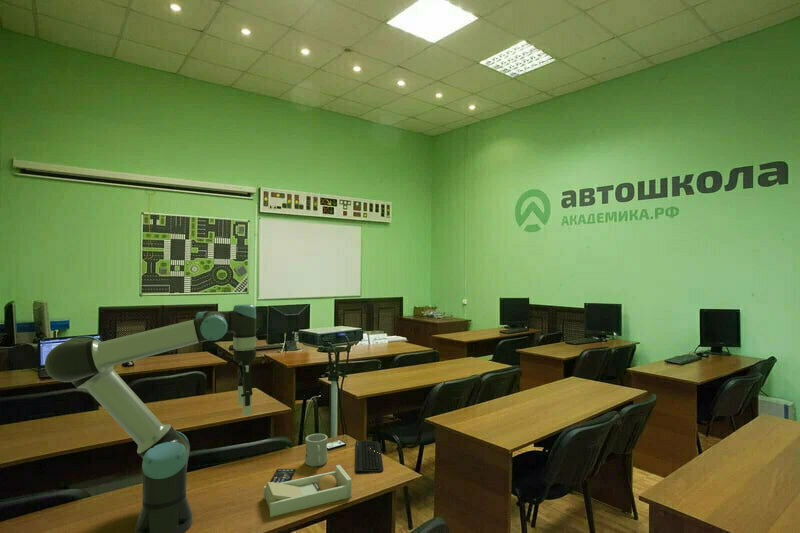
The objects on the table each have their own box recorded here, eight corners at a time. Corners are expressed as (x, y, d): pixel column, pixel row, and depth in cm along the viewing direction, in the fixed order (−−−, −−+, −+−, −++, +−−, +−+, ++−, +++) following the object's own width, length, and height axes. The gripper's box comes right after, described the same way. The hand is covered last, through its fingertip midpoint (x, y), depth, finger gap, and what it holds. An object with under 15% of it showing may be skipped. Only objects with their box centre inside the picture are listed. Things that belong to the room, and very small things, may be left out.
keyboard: (383, 474, 166) (383, 468, 166) (355, 475, 165) (355, 469, 165) (380, 443, 195) (380, 439, 195) (355, 444, 194) (355, 439, 194)
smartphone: (296, 468, 169) (287, 487, 154) (296, 470, 169) (287, 489, 154) (277, 468, 168) (266, 487, 154) (277, 470, 168) (266, 489, 153)
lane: (270, 516, 136) (270, 497, 136) (263, 498, 147) (263, 480, 147) (351, 496, 148) (351, 479, 148) (339, 481, 159) (339, 464, 159)
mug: (304, 459, 178) (304, 434, 178) (326, 456, 180) (326, 432, 181) (306, 472, 166) (306, 446, 166) (330, 469, 169) (330, 443, 169)
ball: (321, 498, 146) (322, 480, 147) (316, 490, 152) (317, 473, 152) (338, 495, 149) (339, 477, 149) (333, 487, 154) (333, 470, 155)
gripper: (261, 353, 142) (261, 418, 142) (250, 342, 165) (250, 398, 164) (237, 355, 139) (236, 421, 139) (229, 344, 161) (229, 401, 161)
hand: (244, 409), depth 152 cm, fingers open, 13 cm apart
